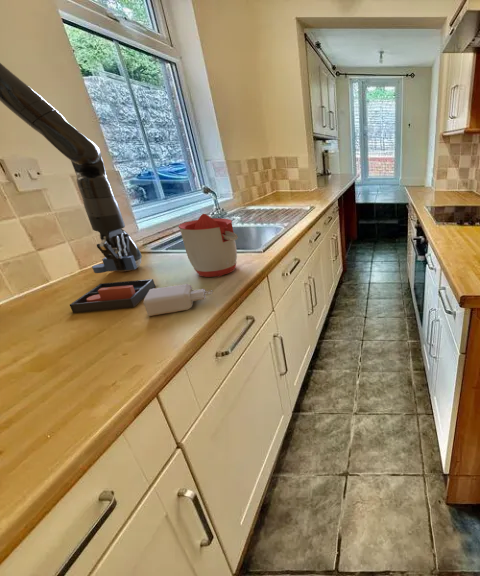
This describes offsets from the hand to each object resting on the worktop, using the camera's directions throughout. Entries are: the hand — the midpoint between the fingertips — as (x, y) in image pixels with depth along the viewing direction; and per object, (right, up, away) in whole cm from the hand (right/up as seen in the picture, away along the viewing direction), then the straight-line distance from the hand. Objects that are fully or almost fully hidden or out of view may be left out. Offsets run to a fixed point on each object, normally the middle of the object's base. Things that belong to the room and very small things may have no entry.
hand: (123, 268), depth 99 cm
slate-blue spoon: (-2, 0, 0) cm, 2 cm away
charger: (+27, -11, -12) cm, 31 cm away
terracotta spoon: (+6, -10, -11) cm, 16 cm away
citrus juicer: (+24, -1, +11) cm, 27 cm away
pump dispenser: (-10, +1, +14) cm, 17 cm away
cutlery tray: (+5, -9, -8) cm, 13 cm away
